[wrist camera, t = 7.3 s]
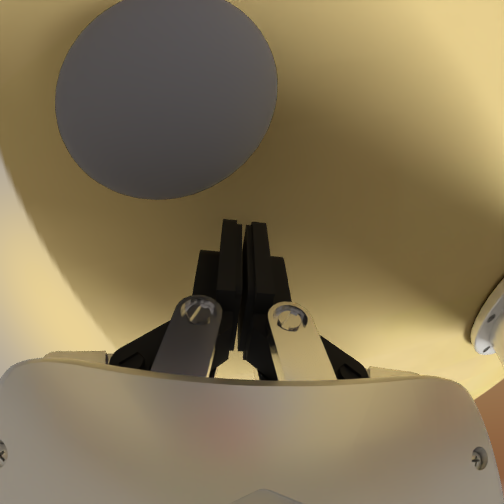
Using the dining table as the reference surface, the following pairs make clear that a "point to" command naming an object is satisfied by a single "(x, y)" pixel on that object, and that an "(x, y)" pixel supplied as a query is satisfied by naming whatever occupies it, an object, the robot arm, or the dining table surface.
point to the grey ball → (166, 96)
